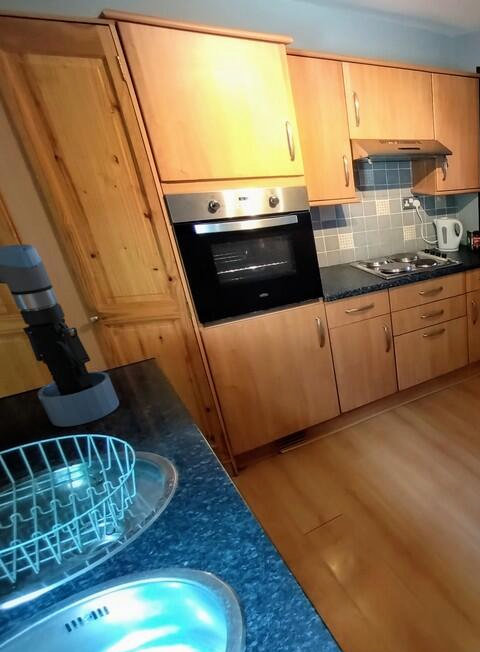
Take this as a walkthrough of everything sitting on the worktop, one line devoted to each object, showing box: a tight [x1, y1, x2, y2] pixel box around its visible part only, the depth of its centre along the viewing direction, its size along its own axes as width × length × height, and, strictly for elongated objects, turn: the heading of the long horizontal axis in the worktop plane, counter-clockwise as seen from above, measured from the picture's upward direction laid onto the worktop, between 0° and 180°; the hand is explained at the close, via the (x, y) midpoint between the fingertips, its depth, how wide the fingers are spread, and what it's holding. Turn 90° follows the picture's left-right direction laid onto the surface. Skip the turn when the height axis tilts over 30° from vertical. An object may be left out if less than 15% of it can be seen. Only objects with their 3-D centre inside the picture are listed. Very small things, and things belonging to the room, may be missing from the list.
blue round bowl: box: [37, 371, 120, 427], centre depth 126 cm, size 15×15×9 cm
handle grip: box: [28, 318, 93, 396], centre depth 122 cm, size 10×26×10 cm
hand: (74, 384), depth 124 cm, fingers closed on handle grip, 7 cm apart
